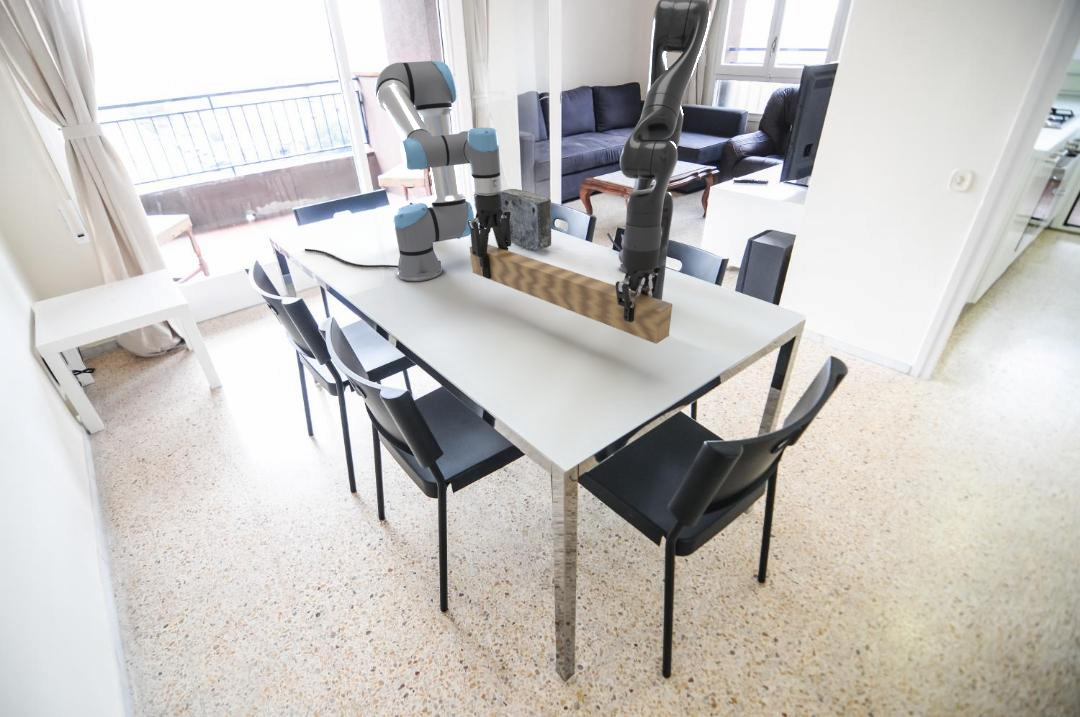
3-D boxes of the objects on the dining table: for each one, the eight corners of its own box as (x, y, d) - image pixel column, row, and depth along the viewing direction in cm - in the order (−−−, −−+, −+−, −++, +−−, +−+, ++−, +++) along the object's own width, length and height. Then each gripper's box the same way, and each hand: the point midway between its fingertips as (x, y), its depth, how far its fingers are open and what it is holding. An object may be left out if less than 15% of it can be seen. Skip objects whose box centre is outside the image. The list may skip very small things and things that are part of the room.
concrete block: (556, 252, 190) (555, 199, 179) (537, 257, 186) (535, 203, 175) (517, 236, 209) (515, 187, 198) (500, 240, 204) (496, 190, 194)
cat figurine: (646, 268, 173) (649, 234, 166) (634, 275, 168) (636, 240, 161) (626, 263, 178) (628, 230, 171) (613, 269, 173) (614, 236, 167)
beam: (472, 272, 147) (469, 247, 143) (485, 267, 150) (482, 242, 146) (656, 344, 108) (659, 311, 103) (668, 335, 110) (672, 303, 106)
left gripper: (469, 201, 124) (478, 287, 136) (521, 188, 134) (525, 268, 147) (451, 197, 128) (461, 280, 141) (503, 184, 139) (508, 262, 151)
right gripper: (636, 257, 96) (630, 333, 105) (676, 238, 105) (668, 310, 114) (605, 248, 101) (602, 322, 110) (646, 231, 109) (640, 301, 118)
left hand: (494, 274), depth 144 cm, fingers closed on beam, 5 cm apart
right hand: (636, 316), depth 112 cm, fingers closed on beam, 5 cm apart
